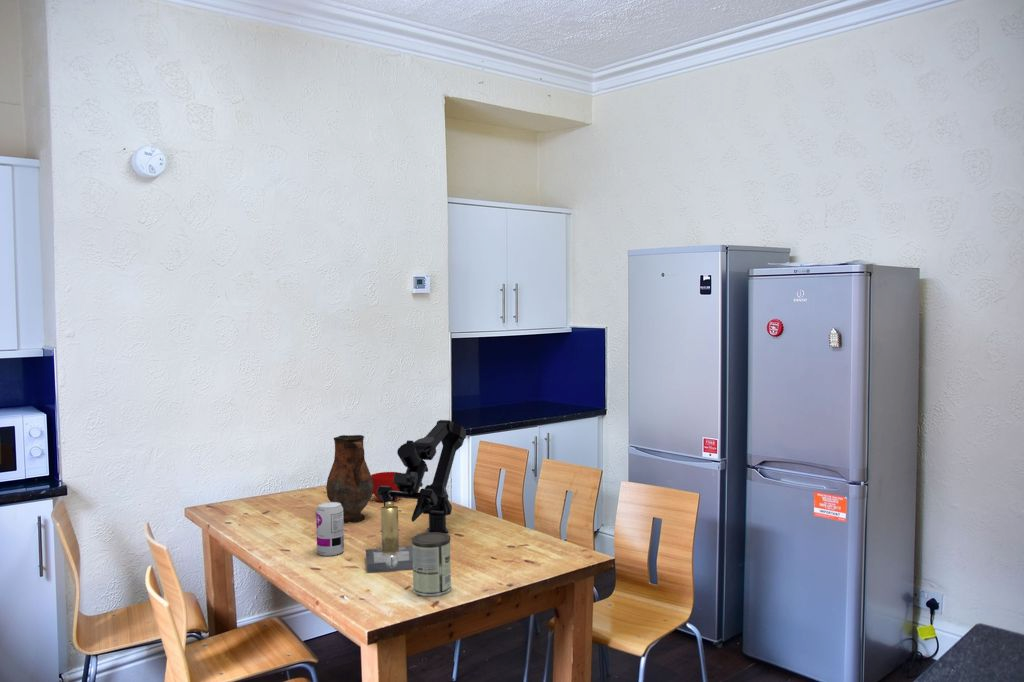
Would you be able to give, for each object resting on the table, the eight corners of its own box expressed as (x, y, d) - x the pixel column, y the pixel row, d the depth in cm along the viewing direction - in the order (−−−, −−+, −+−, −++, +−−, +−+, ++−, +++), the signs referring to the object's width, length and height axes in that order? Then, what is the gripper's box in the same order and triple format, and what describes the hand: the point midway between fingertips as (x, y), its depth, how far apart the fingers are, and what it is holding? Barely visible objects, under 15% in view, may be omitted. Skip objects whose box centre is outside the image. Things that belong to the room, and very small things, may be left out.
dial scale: (365, 557, 236) (365, 543, 236) (412, 554, 239) (412, 539, 239) (367, 573, 222) (366, 557, 222) (416, 569, 225) (416, 553, 225)
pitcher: (363, 510, 293) (362, 431, 292) (385, 523, 275) (383, 438, 274) (320, 517, 284) (318, 435, 283) (339, 530, 266) (338, 443, 265)
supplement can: (317, 557, 237) (316, 508, 236) (316, 549, 245) (315, 502, 244) (344, 555, 239) (343, 506, 239) (343, 547, 247) (342, 500, 246)
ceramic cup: (359, 498, 312) (358, 473, 312) (401, 495, 317) (400, 470, 317) (362, 506, 300) (362, 480, 299) (406, 502, 305) (406, 477, 304)
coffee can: (414, 583, 214) (413, 532, 213) (452, 582, 214) (451, 531, 213) (410, 597, 203) (409, 543, 203) (450, 596, 204) (449, 542, 203)
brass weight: (392, 547, 236) (391, 499, 235) (402, 550, 232) (401, 502, 231) (378, 551, 232) (377, 502, 231) (388, 554, 228) (387, 505, 228)
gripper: (378, 460, 244) (361, 503, 234) (433, 463, 238) (417, 508, 228) (390, 479, 252) (375, 522, 242) (444, 483, 246) (429, 527, 236)
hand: (398, 519), depth 237 cm, fingers open, 9 cm apart
